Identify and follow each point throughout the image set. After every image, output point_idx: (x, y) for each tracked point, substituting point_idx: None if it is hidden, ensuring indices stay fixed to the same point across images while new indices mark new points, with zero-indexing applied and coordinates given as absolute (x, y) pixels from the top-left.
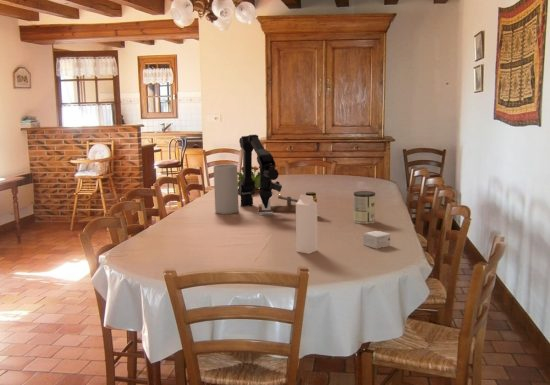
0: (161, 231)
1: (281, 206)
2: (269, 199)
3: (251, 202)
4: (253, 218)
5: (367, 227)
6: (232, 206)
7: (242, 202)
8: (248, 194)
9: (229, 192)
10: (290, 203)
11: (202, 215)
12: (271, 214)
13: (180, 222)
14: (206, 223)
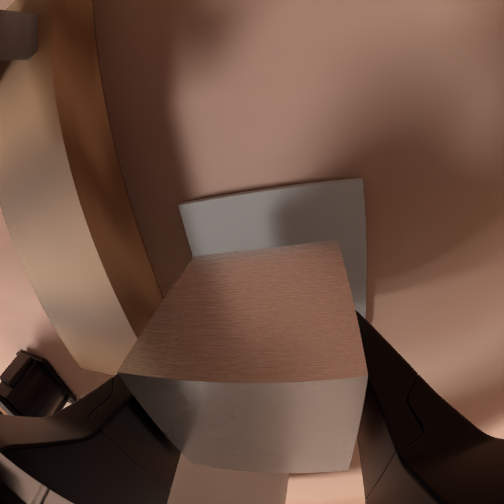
0: None
1: (63, 115)
2: (196, 395)
3: (30, 370)
4: (460, 348)
5: None
6: (268, 489)
7: (58, 405)
8: (17, 414)
9: None
10: (18, 18)
11: (306, 491)
12: (357, 202)
13: None
14: None
